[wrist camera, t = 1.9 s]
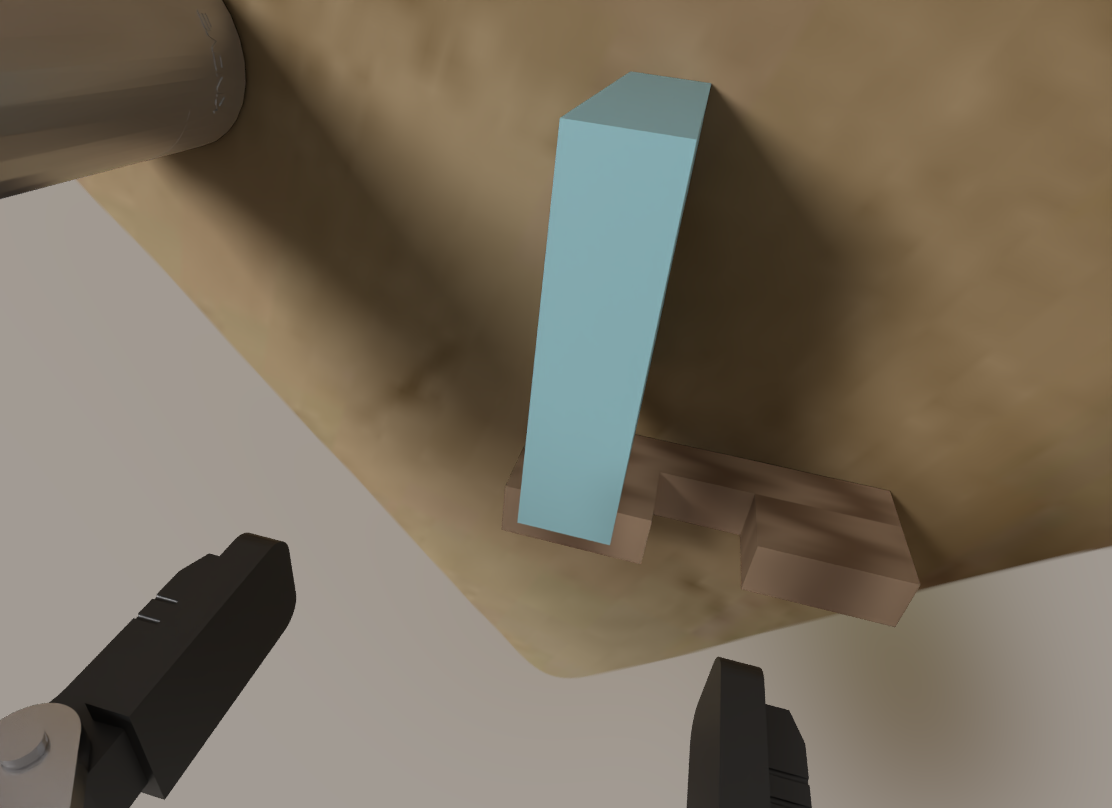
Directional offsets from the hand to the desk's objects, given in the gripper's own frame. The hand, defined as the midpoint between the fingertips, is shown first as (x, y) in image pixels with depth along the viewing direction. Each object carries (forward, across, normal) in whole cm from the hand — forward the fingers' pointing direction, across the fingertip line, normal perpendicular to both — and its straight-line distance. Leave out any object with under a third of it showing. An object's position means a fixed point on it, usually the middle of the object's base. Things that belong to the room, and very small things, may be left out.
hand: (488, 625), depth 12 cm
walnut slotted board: (+24, -6, +13) cm, 28 cm away
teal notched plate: (+24, 0, 0) cm, 24 cm away
